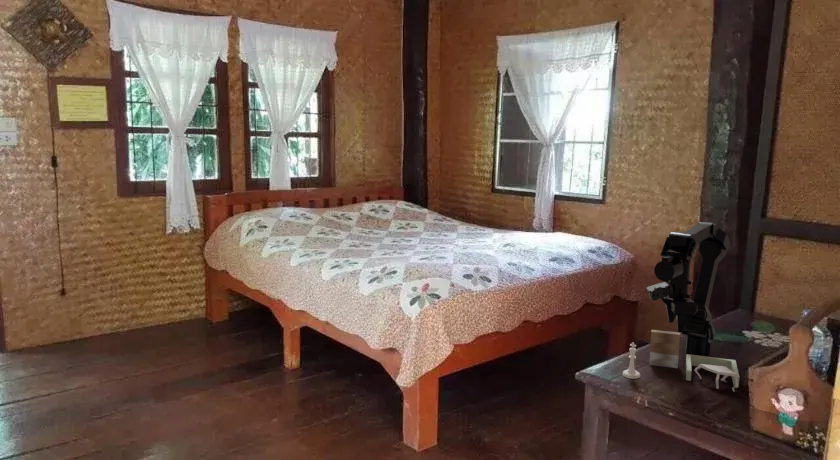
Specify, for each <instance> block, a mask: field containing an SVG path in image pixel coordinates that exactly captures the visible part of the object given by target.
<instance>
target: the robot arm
mask: <svg viewBox="0 0 840 460" xmlns="http://www.w3.org/2000/svg"><path fill="white" fill-rule="evenodd" d="M665 239H666V240H665V241H664V244H663V246H662V249H661V252H660V257H661V261H658V263H656V264H655V267H654V268H653V271H654V275H655V277H656V278H657V279H658V280H659V281H662V282H660V283H655V284H653V285H649V286H647V287H646V291H647V294H648V298H649V299H650V300H651V301H652V302H653V301H658V300H659V299H660V300H661V301H662V303H664V305H665V309H666V314H667V319H668V323H671V324H672V323H674V320H675V319H676V329H677V332H678V333H681V335H686V345H685V356H686V354H690V355H698V356H706V357H709V356H710V355H711V344H712V343H711V340H715V335H716V329H715V327H714V324H713V322H712V321H713V315H712V313H711V311H710V308H709V306H710V302H711V297H712V293H713V288H714V283H715V279H716V275H717V269H718V265H719V263H720V262H721V261H722V260H723V259H724V258H725V257H726V255H727V252H728V251H729V249H730V245H731V240H730V238H729V235H728V234H727V232H725V231H723V229H721V228H720V227H719V226H718V224H717V223H715V222H709V221H708V222H707V221H700V222H698V223H697V224H696V225H695V226H692V227H691V228H688V229H687V230H685V231H682V230H681V231H677V230H676V231H671V232H670V233H669V234H668V235H667V236H666V238H665ZM697 247H698V252H699V254H700V256H701V263H700V267H699V272H698V277H697V281H696V286H695V290H694V295H693V298H692V299H691V294H690V293H689V289H690V288H689V286H690V285H692V280H691V279H690V277H691V276H690V275H691V261H692V259H693V255H694V254H695V252H696V250H697Z"/></svg>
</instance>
